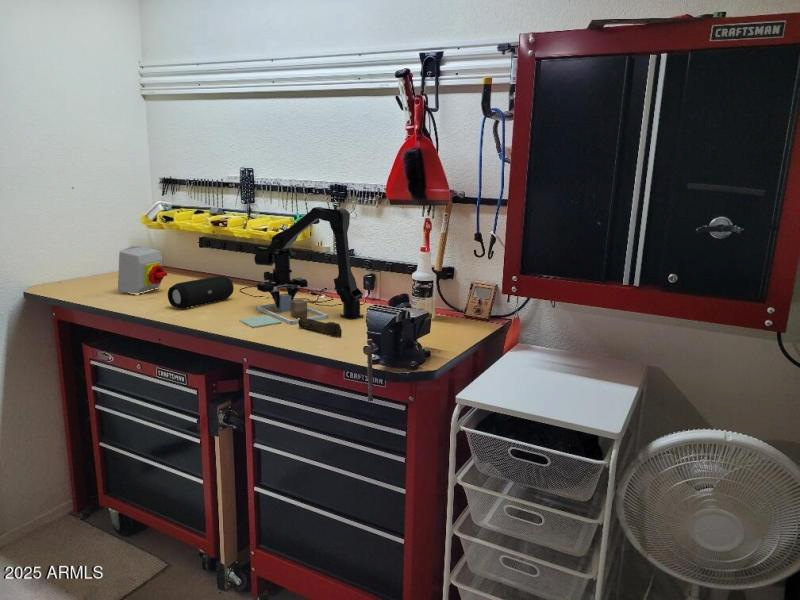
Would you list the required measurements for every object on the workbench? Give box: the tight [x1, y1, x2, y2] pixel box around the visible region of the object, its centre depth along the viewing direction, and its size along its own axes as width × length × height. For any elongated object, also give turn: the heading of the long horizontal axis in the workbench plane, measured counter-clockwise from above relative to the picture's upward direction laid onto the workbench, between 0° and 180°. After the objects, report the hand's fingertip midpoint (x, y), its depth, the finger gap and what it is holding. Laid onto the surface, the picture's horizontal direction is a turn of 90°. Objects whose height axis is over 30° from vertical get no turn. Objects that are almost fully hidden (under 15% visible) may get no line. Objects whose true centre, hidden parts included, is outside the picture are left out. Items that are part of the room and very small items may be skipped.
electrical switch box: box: [117, 245, 168, 293], centre depth 251 cm, size 15×15×20 cm
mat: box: [238, 314, 283, 328], centre depth 209 cm, size 11×11×1 cm
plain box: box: [289, 298, 308, 320], centre depth 217 cm, size 4×4×6 cm
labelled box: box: [274, 293, 291, 313], centre depth 226 cm, size 4×4×6 cm
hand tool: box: [297, 316, 343, 338], centre depth 197 cm, size 19×4×5 cm, turn 49°
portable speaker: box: [167, 275, 235, 309], centre depth 234 cm, size 26×10×10 cm, turn 147°
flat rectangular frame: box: [255, 302, 329, 325], centre depth 222 cm, size 28×16×1 cm, turn 39°
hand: (283, 306), depth 226 cm, fingers closed on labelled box, 4 cm apart
